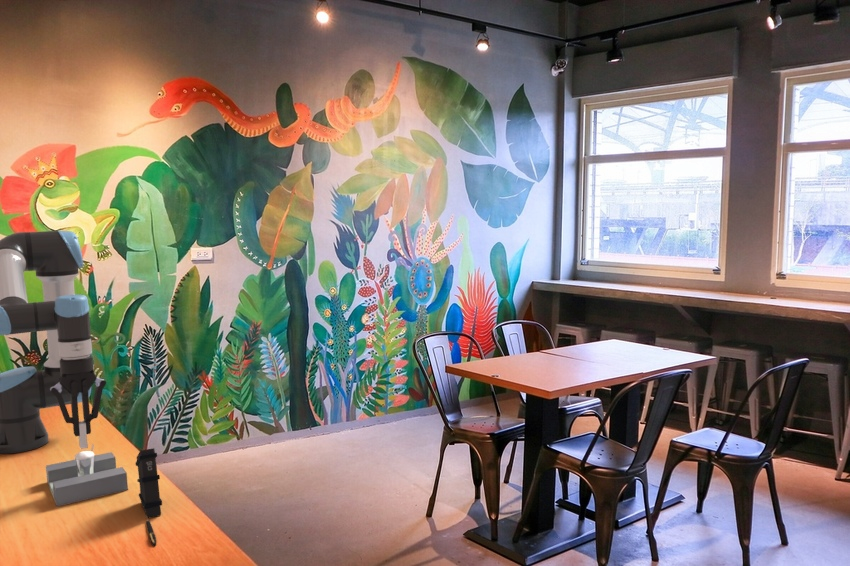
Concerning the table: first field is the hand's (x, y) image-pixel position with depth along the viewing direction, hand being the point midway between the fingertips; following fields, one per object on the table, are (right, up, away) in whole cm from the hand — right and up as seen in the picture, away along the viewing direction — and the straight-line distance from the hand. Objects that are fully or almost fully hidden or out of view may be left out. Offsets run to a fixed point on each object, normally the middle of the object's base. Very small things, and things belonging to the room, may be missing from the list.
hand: (83, 447), depth 179 cm
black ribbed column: (+22, -11, -13) cm, 28 cm away
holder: (0, -10, +1) cm, 10 cm away
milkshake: (+1, -10, +1) cm, 11 cm away
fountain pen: (+28, -13, -26) cm, 40 cm away
